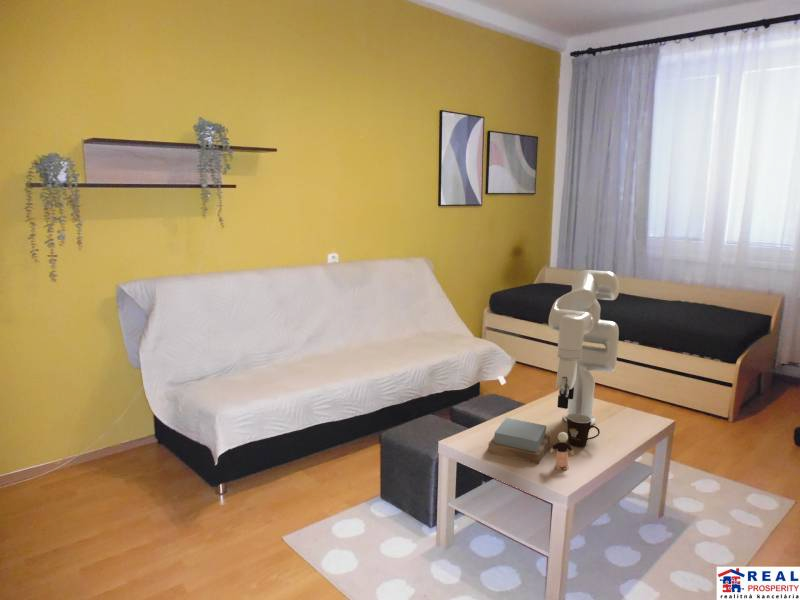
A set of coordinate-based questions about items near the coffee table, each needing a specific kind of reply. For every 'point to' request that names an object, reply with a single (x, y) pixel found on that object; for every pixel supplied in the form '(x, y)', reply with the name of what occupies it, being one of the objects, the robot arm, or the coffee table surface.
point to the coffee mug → (579, 429)
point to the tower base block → (520, 451)
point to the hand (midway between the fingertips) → (565, 403)
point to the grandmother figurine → (562, 451)
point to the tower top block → (520, 434)
